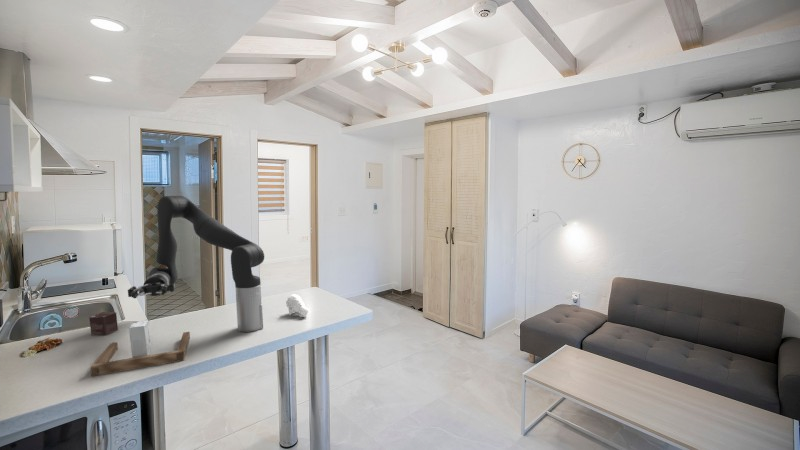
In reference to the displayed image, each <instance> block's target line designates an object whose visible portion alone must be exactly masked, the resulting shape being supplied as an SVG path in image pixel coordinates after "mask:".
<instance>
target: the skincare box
mask: <svg viewBox="0 0 800 450" xmlns="http://www.w3.org/2000/svg"><path fill="white" fill-rule="evenodd" d="M128 330H129V333H128V334H129V340H130V341H129V343H130V350H131V358H135V357H141V356H147V355H153V354H152V353H153V352H152V345H151V335H150V328H149V320H140V321H135V322H132V324H130V326H129V328H128Z"/></svg>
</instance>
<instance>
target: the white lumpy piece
mask: <svg viewBox="0 0 800 450" xmlns="http://www.w3.org/2000/svg"><path fill="white" fill-rule="evenodd" d="M285 303H286V307H287V309H288V315H289V316H292V315H293V313H297V314H298V316H299V317H300V318H306V317H307V315H308V313H309V309H308V307H306V304H305V303H304V301H303V299H302V297H301V296H299V295H298V294H297V293H296V294H295V293H294V294H290V295H289V296H288V297H287V300H286V302H285Z"/></svg>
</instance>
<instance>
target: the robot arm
mask: <svg viewBox="0 0 800 450" xmlns="http://www.w3.org/2000/svg"><path fill="white" fill-rule="evenodd" d="M156 212H157V213H156V214H157V230H158V245H157V251H156V252H157V253H156V259H155V261H156V263H158V264H159V265H162V266H165V267H153V268H152V269H151V270H150V271H149V274H148V278H147V279H146V280H145V281H144V283H143V285H141V286H138V288H137V286H131V287H130V288H129V289H127V297H128V298H133V299H137V298H138V297H143V296H146V295H148V296H150V297H157V296H160V295H162V296H163V295H165V294H167V293H169V292H170V293H171V292H174V291H175V289H176V288H175V285H176V284H175V283H176V282H177V281H178V277H179V276H178V271H177V266H176V260H177V259H176V257H177V251H178V243H177V240H176V237H175V235H174V234H173V232H172V228H171V225H172V220H173V219H175V218H176V219H177V218H178V219H179V218H183V219H186V221H188V222H190V223H192V226H193V231H194V233H195V234H196V235H197V236H198V237H199V238H200V239H202V240H203V241H205V242H206V243H208V244H210V245H212V246H215V247H217V248H222V249H225V250H226V249H227V250H229V251H231V253H230V265H231V266H230V267H231V274H232V279H233V282H234V286H235V302H236V303H235V304H236V306H235V307H236V321H237V323H236V324H237V331H239V332H242V333H248V332H249V333H251V332H254V331H258V330H261V329H264V316H263V315H264V314H263V303H262V287H261V285H262V284H261V282H262V281H261V277H260V276H258V275H254V274H253V272H252V268H254V267H257V266H260V265H261V264H262V263H264V260H265V253H264V250H263V249H262V248H261V246H259V245H258V244H256V243H255V242H253V241H250V240H249V239H247V238H245V237H243V236H241V235H239V234H238V233H236V232H235V231H234V230H232V229H230V228H228V227H227V226H226V225H224V223H221V222H220V221H219V220H217V219H215V218H214V217H212V216H210V214H208V213H206V212H205V211H203V210H202V209H200V208H199V207H198V205H196V204H195V203H194V202H192V201H191V200H190V199H189V198H187V197H186V196H184V195H164V196H162V197H160V198H159V200H158V203H157V210H156Z"/></svg>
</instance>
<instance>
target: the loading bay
mask: <svg viewBox="0 0 800 450" xmlns="http://www.w3.org/2000/svg"><path fill="white" fill-rule="evenodd" d="M190 338H191V333H190V331H185V332H182V336H181V339H180V340H179V341H180V342H179V344H178V347H177V350H172V351H167V352H160V353H154V354H152V355H147V356H141V357H135V358H132V357H129V358H123V359H118V360H111V359H113V357H114V356H115V354H116V352H118V350H119V344H118V342H117V341H116V342H110V343H109V344H108V345H107V347H106V348H105V349H104V350H103V352H102V353H101V354H100V355H99V357H98V358H97V359H96V361H94V363H93V364H91V365H90V373H91V374H90V375H91V377H95V376H99V375H100V376H101V375H106V374H111V373H112V374H113V373H117V372H118V373H119V372H124V371H130V370H134V369H141V368H142V369H143V368H145V367H147V368H148V367H152V366H158V365H159V366H160V365H164V364H170V363H176V362H182V361H185V358H186V353H187V350H188V346H189V344H190V343H189V342H190V341H191V340H190Z"/></svg>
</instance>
